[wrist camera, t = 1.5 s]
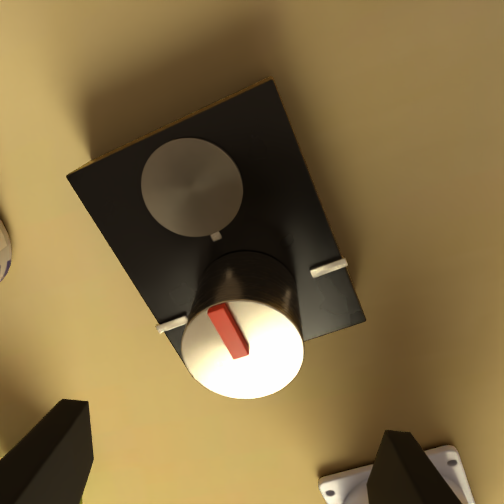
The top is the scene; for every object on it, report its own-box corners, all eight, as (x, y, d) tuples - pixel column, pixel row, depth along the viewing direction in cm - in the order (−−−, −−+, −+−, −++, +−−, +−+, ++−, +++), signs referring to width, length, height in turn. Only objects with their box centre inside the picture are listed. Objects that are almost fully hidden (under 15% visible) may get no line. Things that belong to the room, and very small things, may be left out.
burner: (259, 213, 15) (258, 215, 15) (172, 248, 16) (171, 250, 16) (216, 119, 14) (215, 120, 14) (123, 162, 15) (121, 163, 14)
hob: (365, 309, 20) (378, 343, 17) (208, 361, 21) (201, 399, 19) (274, 74, 15) (275, 77, 13) (88, 161, 17) (60, 178, 15)
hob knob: (312, 319, 17) (323, 385, 14) (223, 348, 18) (213, 419, 14) (274, 235, 16) (276, 286, 12) (179, 272, 16) (156, 330, 13)
